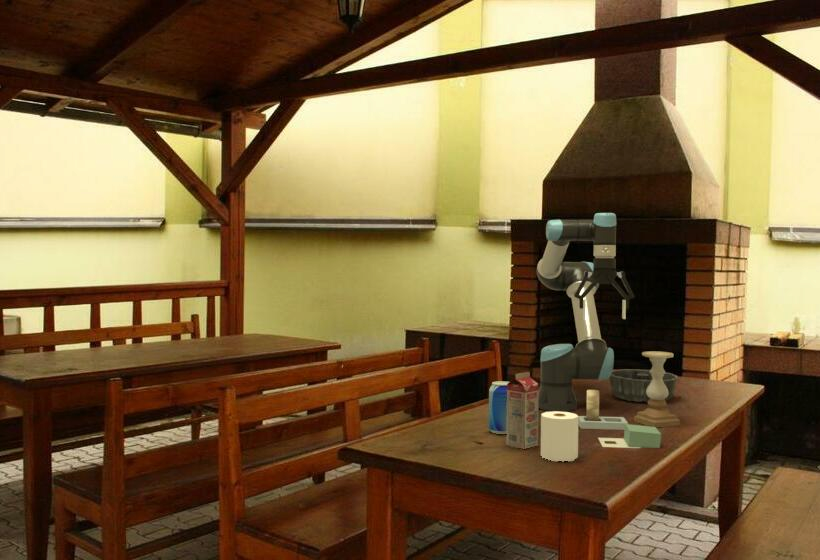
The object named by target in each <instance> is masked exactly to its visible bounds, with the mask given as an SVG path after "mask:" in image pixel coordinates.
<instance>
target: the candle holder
mask: <svg viewBox="0 0 820 560" xmlns="http://www.w3.org/2000/svg"><path fill="white" fill-rule="evenodd" d="M641 355H642V356H643V357H644V358H649V361H650V363H651V366H652V367H651V369H649V370H650V373H651V375H652V381H651V383H650V384H649V386H648V387H647V389H646V394H647V396H648V397H649V398H650V400H649V401H648V403H647V405H648V407H647V408H646V409H645V410H643V411H638V412H637V413H636V415H634V416H633V422H635V423H637V424H641V425H642V426H650V427H656V429H658V428H659V427H661V428H669V427H668V426H671V427H679V426H678V425H680V426H681V420H680V419H679V418H678V415H677V414H674V413H671V412H670V411H669V410H668V409H666V406H667V404H668V403H667V400H666V401H665V400H664V399H665V398H666V397H667V396H668V394H669V392H668V389H667V387H666V386H665V384H664V382H663V376H664V374H665V373H667V372H666V371H665V369H664V364H665V362H666V361H667V359H670V358H674V353H673V352H668V351H660V350H659V351H656V350H655V351H654V350H653V351H651V350H650V351H642V352H641ZM659 429H660V428H659Z"/></svg>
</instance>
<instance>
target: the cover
mask: <svg viewBox="0 0 820 560" xmlns="http://www.w3.org/2000/svg"><path fill="white" fill-rule="evenodd" d="M623 433H624V434H623V439H624V440H625V441H626V443H627V444H628V446H634V447H641V448H647V449H649V448H650V449H651V448H652V449H653V448H654V449H660V448H661V441H662V433H661V432H660V431H659V429H658V428H656V427H650V426H646V425H637V424H630V423H628V424H625V430H624V432H623Z"/></svg>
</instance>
